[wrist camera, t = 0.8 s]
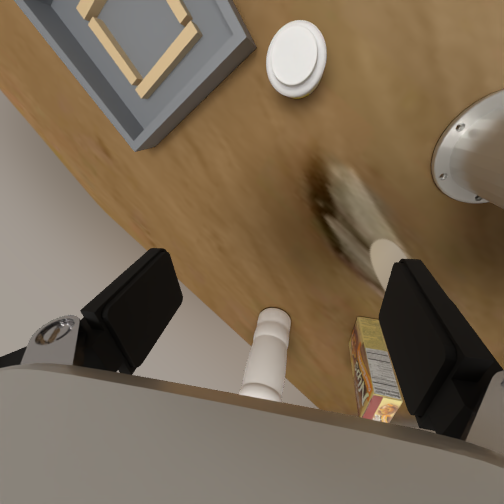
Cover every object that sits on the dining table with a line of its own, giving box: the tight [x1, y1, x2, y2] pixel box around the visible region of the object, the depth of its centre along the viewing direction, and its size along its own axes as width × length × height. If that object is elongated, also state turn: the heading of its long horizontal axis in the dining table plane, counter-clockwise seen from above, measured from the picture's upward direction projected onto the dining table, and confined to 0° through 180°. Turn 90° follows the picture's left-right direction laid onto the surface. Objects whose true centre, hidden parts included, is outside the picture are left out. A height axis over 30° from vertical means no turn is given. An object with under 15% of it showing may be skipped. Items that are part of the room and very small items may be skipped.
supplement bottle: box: [266, 20, 327, 99], centre depth 24 cm, size 6×6×10 cm
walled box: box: [14, 0, 257, 152], centre depth 27 cm, size 20×20×5 cm
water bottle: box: [239, 308, 291, 402], centre depth 40 cm, size 7×7×25 cm
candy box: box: [349, 316, 403, 423], centre depth 41 cm, size 9×4×15 cm, turn 2°
